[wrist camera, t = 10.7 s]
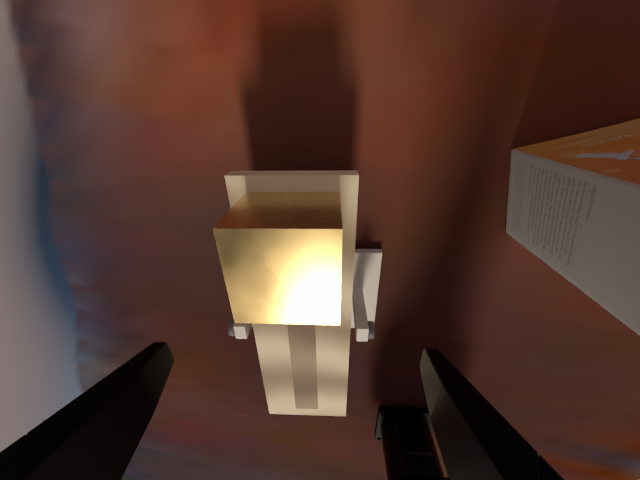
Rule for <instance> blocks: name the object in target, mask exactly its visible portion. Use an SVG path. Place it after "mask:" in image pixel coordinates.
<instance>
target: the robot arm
mask: <svg viewBox="0 0 640 480" xmlns="http://www.w3.org/2000/svg"><path fill="white" fill-rule="evenodd" d="M173 362H174V357H173V354H172V352H171V349H170V347H169V345H168V343H166V342H154V343H152V344H151V345H150V346H148V347H147V348H145V349H144V350H143V351H141V352H140V353H138V354H137V355H136V356H134V357H133V358H131V359H130V360H129V361H127V362H126V363H124V364H123V365H122V366H120V367H119V368H117V369H116V370H115V371H113V372H112V373H110V374H109V375H108V376H106V377H105V378H103V379H102V380H101V381H99V382H98V383H96V384H95V385H94V386H92V387H91V388H90V389H88V390H87V391H85V392H84V393H83V394H81V395H80V396H78V397H77V398H76V399H74V400H73V401H71V402H70V403H69V404H67V405H66V406H64V407H63V408H62V409H60V410H59V411H57V412H56V413H55V414H53V415H52V416H50V417H49V418H48V419H46V420H45V421H43V422H42V423H41V424H39V425H38V426H37V427H35V428H34V429H32V430H31V431H30V432H28V433H27V435H24V436H23V437H21V438H20V439H18V440H17V441H16V442H14V443H13V444H11V445H10V446H8V447H7V448H6V449H4V450H3V451H1V452H0V480H121V479H122V476H123V474H124V472H125V470H126V468H127V466H128V464H129V462H130V460H131V458H132V456H133V454H134V452H135V450H136V448H137V446H138V444H139V442H140V440H141V438H142V436H143V434H144V432H145V430H146V428H147V426H148V424H149V422H150V420H151V418H152V416H153V413H154V411H155V409H156V407H157V404H158V402H159V399H160V397H161V394H162V392H163V389H164V387H165V384H166V381H167V379H168V376H169V374H170V371H171V368H172V366H173ZM420 372H421V377H422V381H423V386H424V391H425V396H426V401H427V405H428V409H398V408H381V409H379V411H378V417H377V423H376V430H375V440H377V441H382V444H383V451H384V457H385V464H386V471H387V478H388V480H564V479H563V478H562V477H561V476H560V475H559V474H558V473H557V472H556V471H555V470H554V469H553V468H552V467H551V466H550V465H549V464H548V463H547V462H546V461H545V460H544V459H543V458H542V457H541V456H540V455H539V456H538V453H537V451H536V450H535V449H534V448H533V447H532V446H531V445H530V444H529V443H528V442H527V441H526V440H525V439H524V438H523V437H522V436H521V435H520V434H519V433H518V432H517V431H516V430H515V429H514V428H513V427H512V426H511V425H510V423H509V422H508V421H507V420H506V419H505V418H504V417H503V416H502V415H501V414H500V413H499V412H498V411H497V410H496V409H495V408H494V407H493V406H492V405H491V404H490V403H489V402H488V401H487V400H486V399H485V398H484V397H483V396H482V394H481V393H480V392H479V391H478V390H477V389H476V388H475V387H474V386H473V385H472V384H471V383H470V382H469V381H468V380H467V379H466V378H465V377H464V376H463V375H462V374H461V373H460V372H459V371H458V370H457V369H456V368H455V366H454V365H453V364H452V363H451V362H450V361H449V360H448V359H447V358H446V357H445V356H444V355H443V354H442V353H441V352H440V351H439V350H438V349H436V348H425V349H424V350H423V353H422V357H421V361H420ZM432 427H433V429H434V432H435V435H436V439H437V442H438V445H439V448H440V451H441V455H442V458H443V461H444V464H445V467H446V470H447V474H448V477H447V478H444V475H443V472H442V468H441V465H440V462H439V458H438V455H437V451H436V448H435V445H434V441H433V438H432V435H431V430H432Z"/></svg>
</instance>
